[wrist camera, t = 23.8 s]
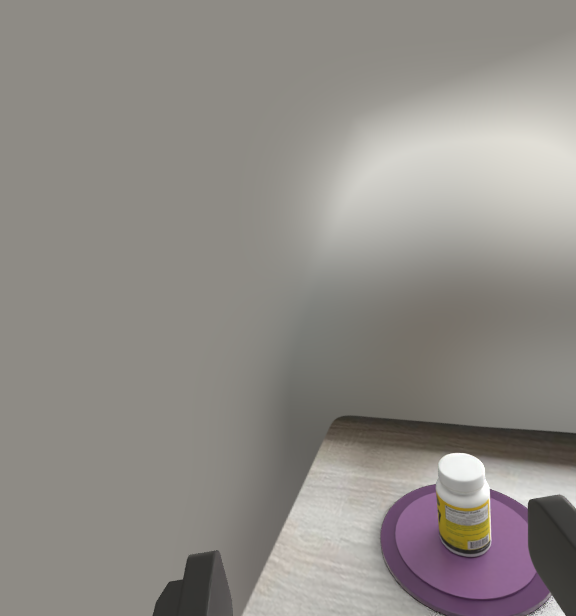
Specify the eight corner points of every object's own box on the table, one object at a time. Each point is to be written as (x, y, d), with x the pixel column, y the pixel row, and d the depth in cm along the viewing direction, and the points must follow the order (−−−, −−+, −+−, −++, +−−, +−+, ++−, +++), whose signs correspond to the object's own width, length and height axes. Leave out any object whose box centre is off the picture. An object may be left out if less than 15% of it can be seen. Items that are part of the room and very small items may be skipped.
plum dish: (387, 622, 38) (386, 615, 38) (376, 490, 53) (375, 484, 53) (595, 624, 35) (596, 616, 35) (521, 483, 50) (521, 477, 50)
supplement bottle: (446, 514, 47) (441, 445, 45) (495, 528, 44) (493, 455, 42) (433, 549, 43) (427, 476, 41) (486, 566, 41) (483, 489, 38)
